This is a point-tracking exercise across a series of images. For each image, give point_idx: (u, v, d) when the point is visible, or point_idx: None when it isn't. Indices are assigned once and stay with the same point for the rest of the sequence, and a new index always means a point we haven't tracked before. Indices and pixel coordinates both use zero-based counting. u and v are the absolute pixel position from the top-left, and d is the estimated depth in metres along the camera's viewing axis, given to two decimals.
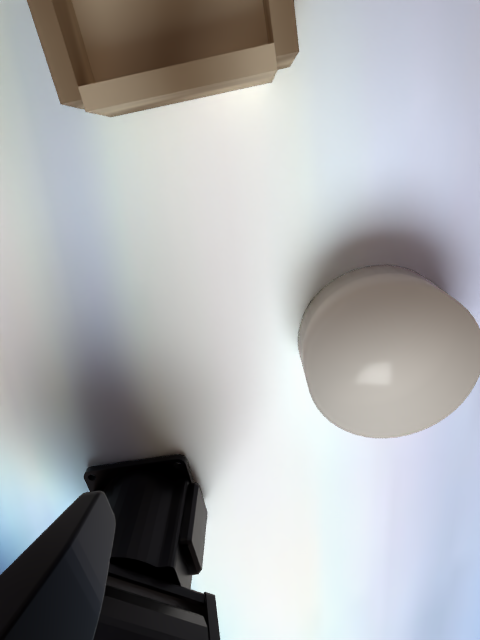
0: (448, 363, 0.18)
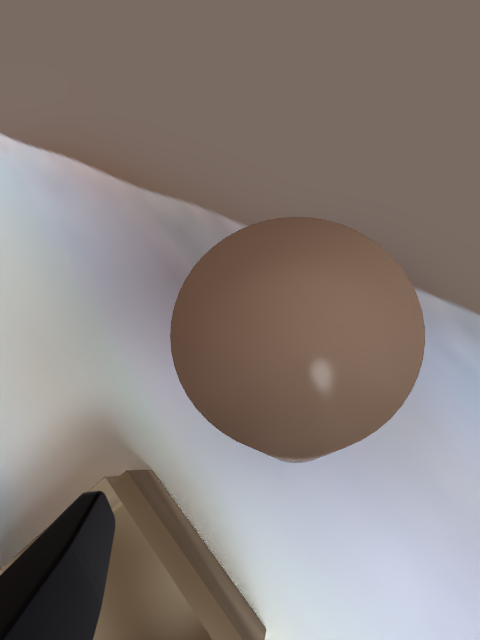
0: None
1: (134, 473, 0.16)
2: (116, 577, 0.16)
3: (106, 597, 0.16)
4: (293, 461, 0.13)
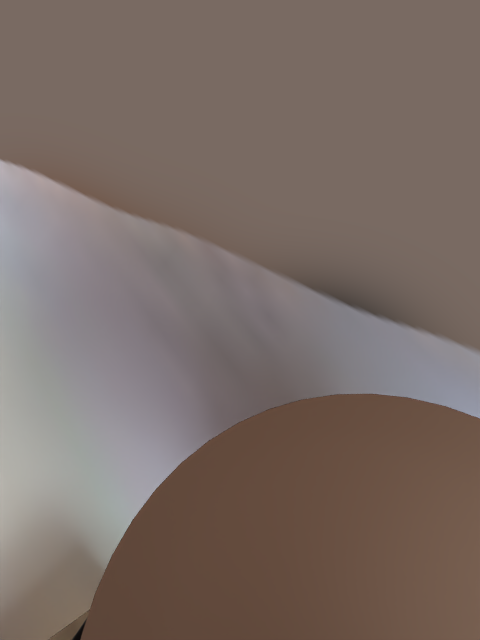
0: None
1: None
2: None
3: None
4: None
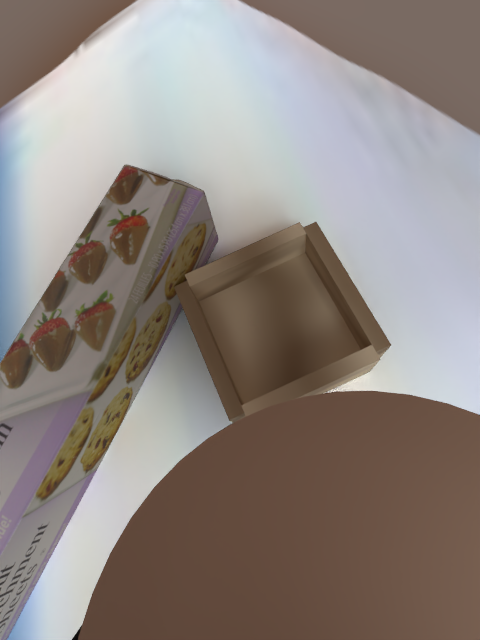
0: None
1: None
2: (281, 299, 0.23)
3: (271, 309, 0.23)
4: None
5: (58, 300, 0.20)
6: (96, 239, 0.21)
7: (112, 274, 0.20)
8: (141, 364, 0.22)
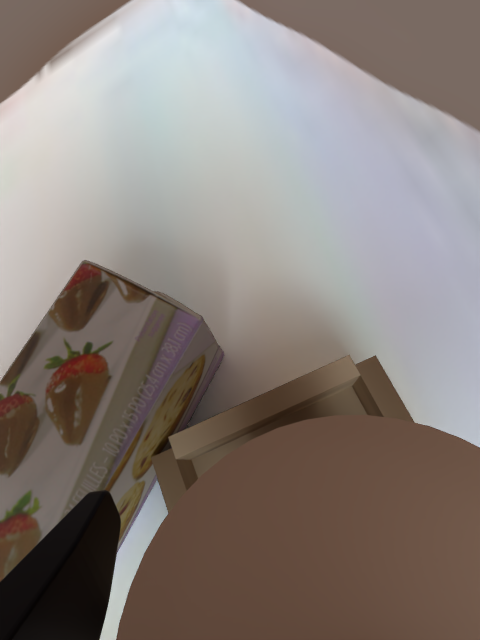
0: None
1: None
2: None
3: None
4: None
5: None
6: (25, 390, 0.13)
7: (43, 461, 0.12)
8: None
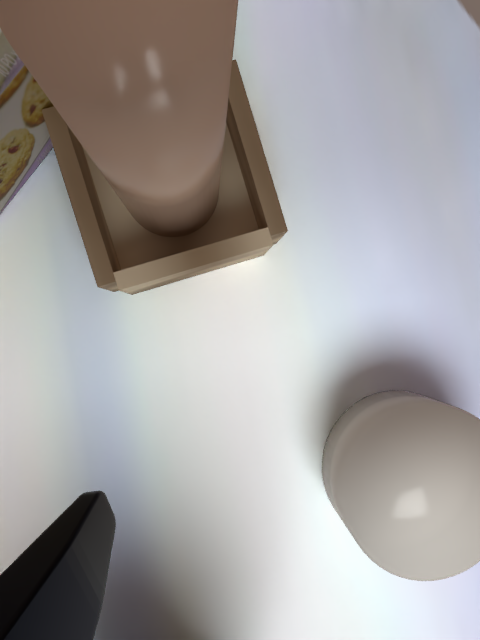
0: None
1: None
2: None
3: None
4: (151, 210, 0.15)
5: None
6: None
7: None
8: None
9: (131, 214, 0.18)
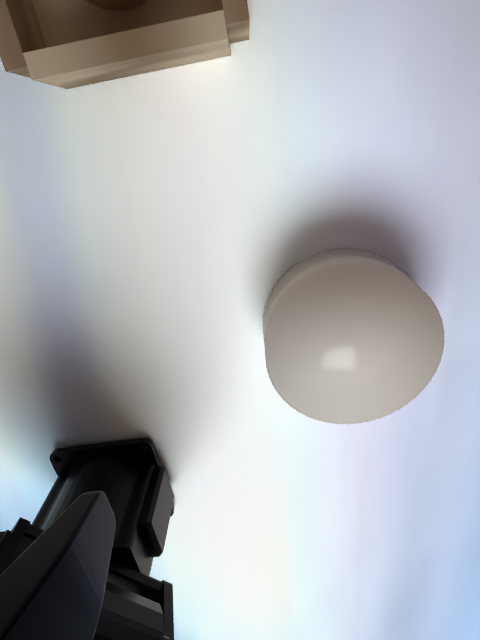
0: (409, 348, 0.18)
1: None
2: None
3: None
4: None
5: None
6: None
7: None
8: None
9: None
